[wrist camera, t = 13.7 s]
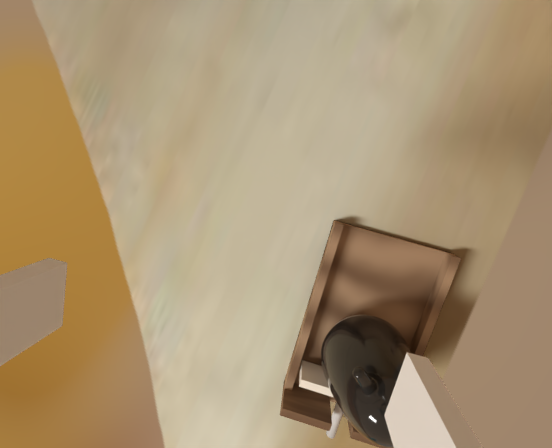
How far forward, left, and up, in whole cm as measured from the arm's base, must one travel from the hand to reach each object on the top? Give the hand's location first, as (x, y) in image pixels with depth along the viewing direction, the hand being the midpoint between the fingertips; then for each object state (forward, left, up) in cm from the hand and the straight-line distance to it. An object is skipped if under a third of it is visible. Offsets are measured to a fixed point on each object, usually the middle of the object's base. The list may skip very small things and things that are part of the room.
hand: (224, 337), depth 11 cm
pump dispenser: (+16, +9, -28) cm, 33 cm away
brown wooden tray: (+13, +10, -28) cm, 33 cm away
